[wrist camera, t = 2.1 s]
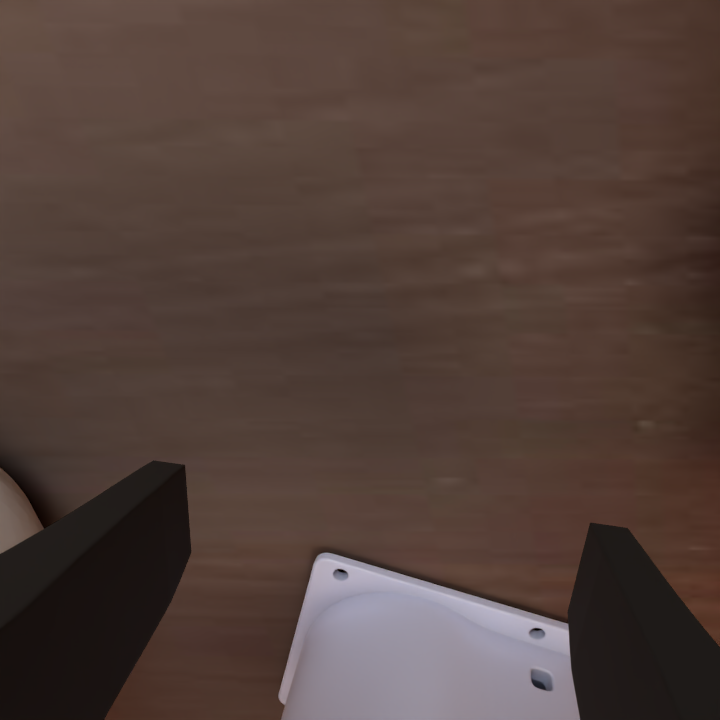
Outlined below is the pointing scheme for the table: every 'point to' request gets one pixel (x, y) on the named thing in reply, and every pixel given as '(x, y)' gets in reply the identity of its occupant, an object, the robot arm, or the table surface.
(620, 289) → the table surface
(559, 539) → the table surface
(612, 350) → the table surface
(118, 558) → the robot arm
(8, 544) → the teacup
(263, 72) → the table surface
